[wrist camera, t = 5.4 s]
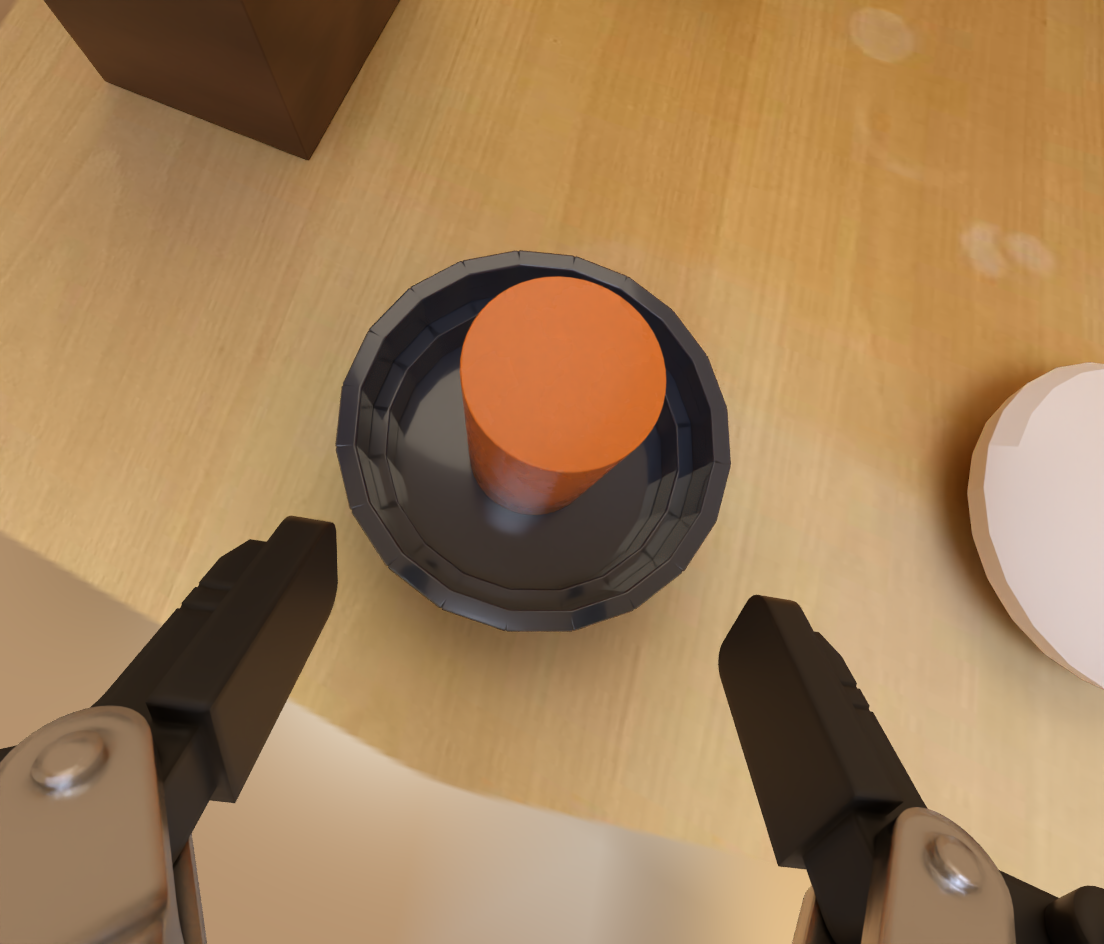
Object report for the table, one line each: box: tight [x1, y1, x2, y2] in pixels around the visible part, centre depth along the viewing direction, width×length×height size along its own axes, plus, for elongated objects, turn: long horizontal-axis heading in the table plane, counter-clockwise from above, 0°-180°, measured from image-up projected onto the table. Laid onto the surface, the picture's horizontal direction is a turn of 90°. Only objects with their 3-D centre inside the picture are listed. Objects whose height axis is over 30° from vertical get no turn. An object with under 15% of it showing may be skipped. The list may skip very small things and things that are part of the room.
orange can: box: [460, 276, 666, 515], centre depth 18 cm, size 6×6×9 cm
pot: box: [336, 250, 731, 632], centre depth 20 cm, size 14×14×4 cm
